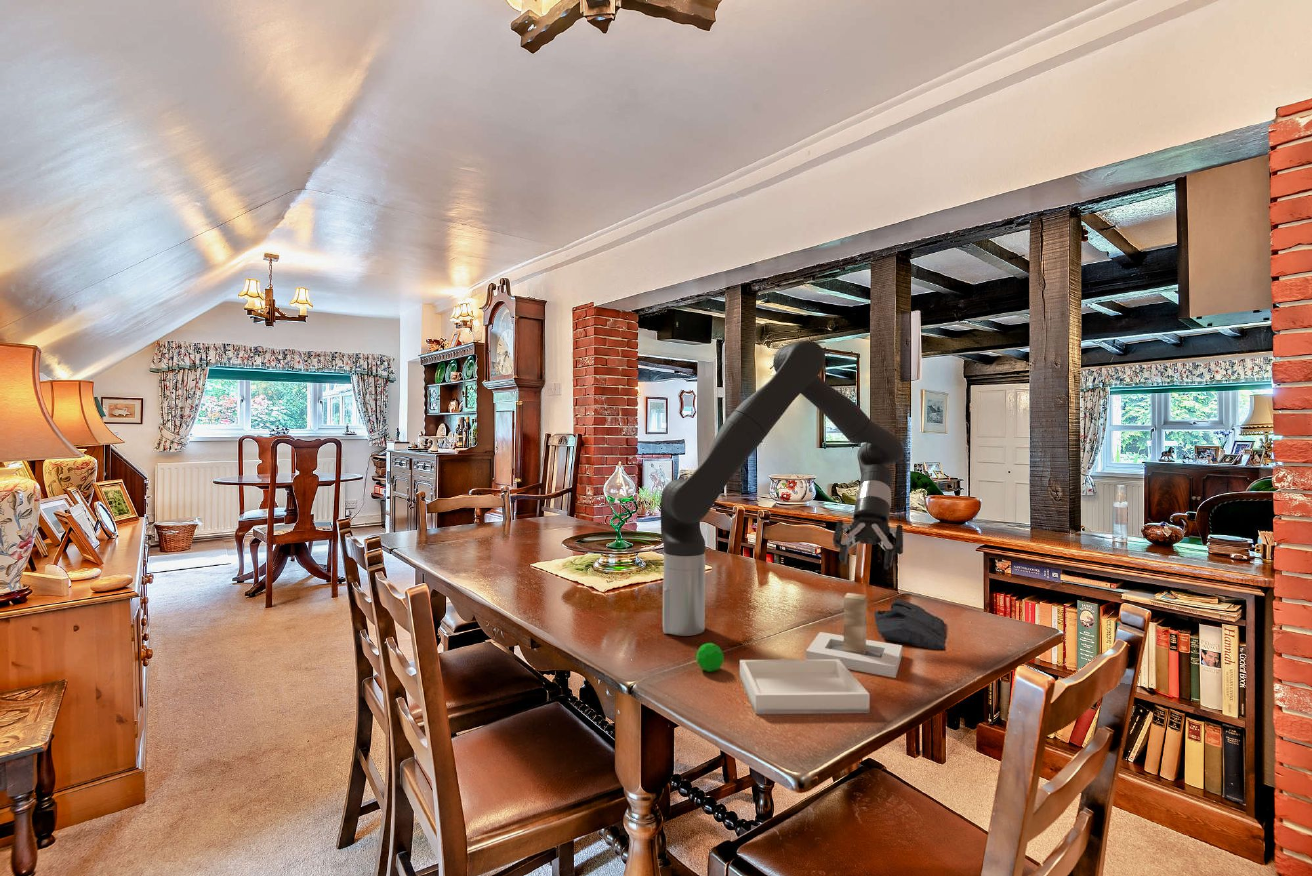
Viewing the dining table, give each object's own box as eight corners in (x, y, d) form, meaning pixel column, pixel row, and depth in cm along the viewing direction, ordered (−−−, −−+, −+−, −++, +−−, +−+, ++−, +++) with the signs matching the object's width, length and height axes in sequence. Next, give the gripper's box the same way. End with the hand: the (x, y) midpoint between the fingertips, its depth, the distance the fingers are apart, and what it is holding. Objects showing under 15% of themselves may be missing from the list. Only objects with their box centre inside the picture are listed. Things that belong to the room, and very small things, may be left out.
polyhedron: (690, 669, 108) (691, 644, 108) (708, 662, 112) (708, 637, 112) (711, 678, 105) (711, 651, 105) (728, 670, 108) (729, 644, 108)
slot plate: (806, 661, 113) (806, 650, 113) (819, 641, 123) (820, 631, 123) (895, 678, 105) (895, 667, 105) (902, 655, 116) (902, 645, 116)
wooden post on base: (828, 658, 114) (829, 595, 114) (833, 650, 118) (834, 590, 118) (877, 667, 110) (878, 602, 110) (880, 659, 114) (881, 596, 114)
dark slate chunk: (867, 643, 124) (868, 620, 124) (875, 613, 144) (875, 594, 144) (948, 655, 117) (949, 631, 117) (944, 622, 138) (945, 602, 137)
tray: (755, 714, 91) (755, 695, 91) (739, 676, 105) (739, 659, 105) (869, 713, 92) (869, 694, 92) (838, 675, 106) (838, 659, 106)
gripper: (838, 492, 135) (827, 551, 125) (905, 496, 128) (899, 558, 118) (842, 513, 140) (832, 571, 130) (907, 517, 133) (901, 579, 123)
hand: (864, 565), depth 124 cm, fingers open, 8 cm apart
